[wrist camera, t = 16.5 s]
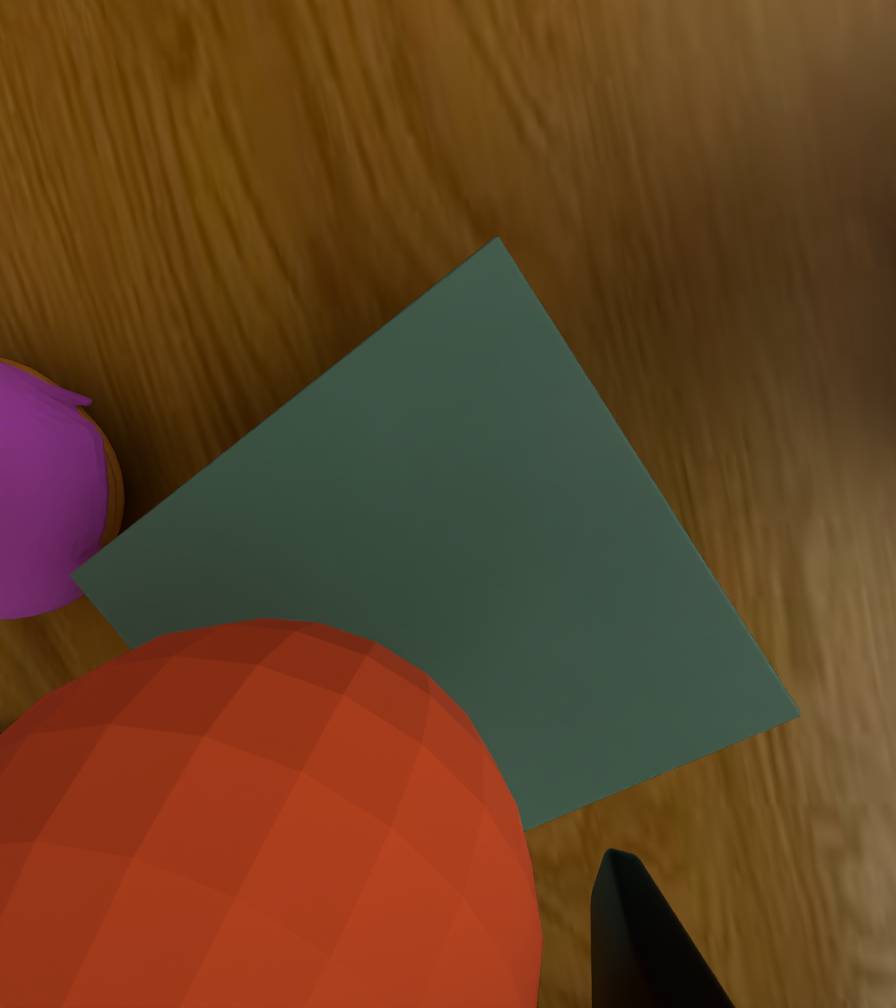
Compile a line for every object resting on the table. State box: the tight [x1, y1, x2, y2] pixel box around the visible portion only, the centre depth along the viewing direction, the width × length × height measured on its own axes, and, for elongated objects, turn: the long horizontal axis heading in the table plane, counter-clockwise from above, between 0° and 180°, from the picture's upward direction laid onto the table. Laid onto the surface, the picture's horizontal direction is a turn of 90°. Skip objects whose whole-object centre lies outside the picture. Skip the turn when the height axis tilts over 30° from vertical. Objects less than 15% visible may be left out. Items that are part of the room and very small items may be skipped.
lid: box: [70, 236, 801, 831], centre depth 12 cm, size 11×13×1 cm
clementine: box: [0, 618, 543, 1008], centre depth 6 cm, size 8×7×7 cm
